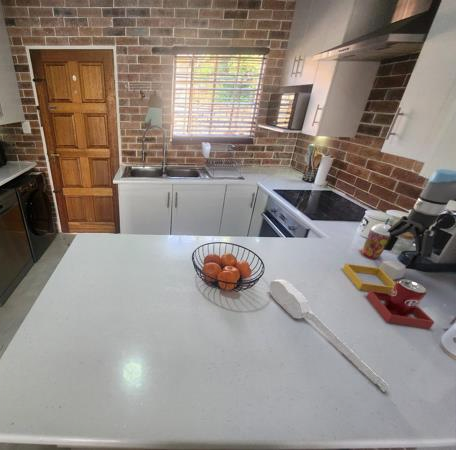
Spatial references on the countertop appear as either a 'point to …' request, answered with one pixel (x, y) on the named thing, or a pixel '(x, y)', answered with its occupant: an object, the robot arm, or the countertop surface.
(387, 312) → the red bin
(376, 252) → the smoothie
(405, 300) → the soda can
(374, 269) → the yellow bin
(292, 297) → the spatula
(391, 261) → the white cube
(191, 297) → the countertop surface
